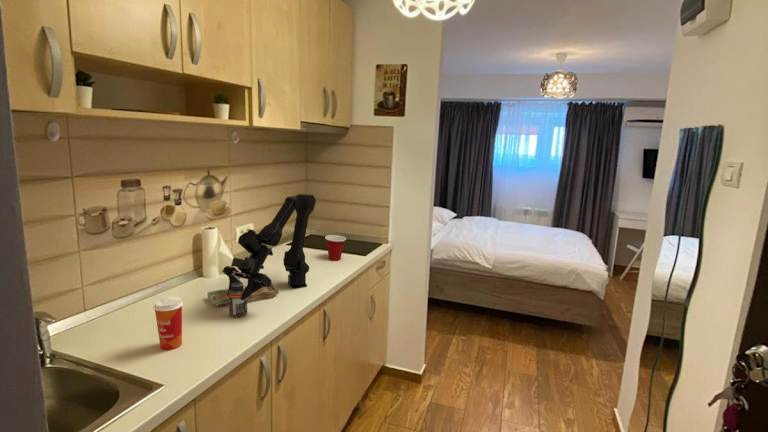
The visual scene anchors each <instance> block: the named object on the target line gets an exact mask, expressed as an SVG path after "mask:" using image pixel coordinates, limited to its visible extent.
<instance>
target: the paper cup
mask: <svg viewBox="0 0 768 432" xmlns="http://www.w3.org/2000/svg"><path fill="white" fill-rule="evenodd" d="M183 305H184V303H183V301H182V299H181V298H180V297H178V296H177V297H176V296H169V297H165V298H161V299H160V300H159V299H157V300H156V301H155V303H154V306H153V308H152V309H153V310H154V312H155V320H156V321H155V322H156V325H157V332H158V339H159V340H158V341H159V346H160V349H161V350H164V351H171V350H176V349H178V348H180V347H181V346H182V343H183V341H182V340H183V313H182V312H183Z"/></svg>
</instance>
